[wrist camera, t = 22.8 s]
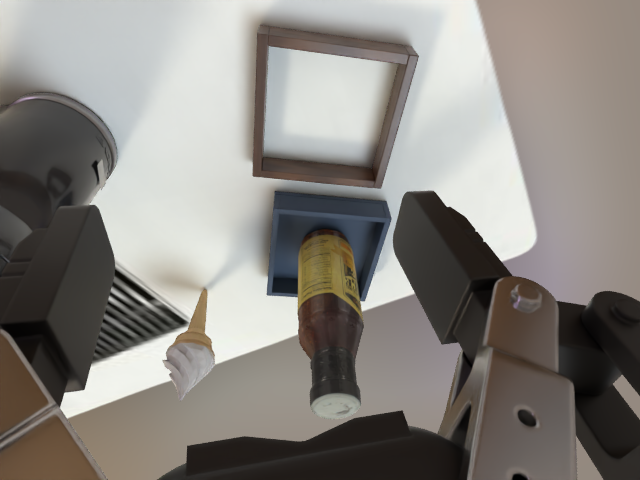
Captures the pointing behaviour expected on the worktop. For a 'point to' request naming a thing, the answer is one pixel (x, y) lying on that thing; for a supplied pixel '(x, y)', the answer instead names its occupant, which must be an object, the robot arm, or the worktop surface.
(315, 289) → the sauce bottle
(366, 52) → the walnut frame
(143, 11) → the worktop surface
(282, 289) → the slate tray
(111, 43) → the worktop surface
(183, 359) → the ice cream cone
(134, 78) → the worktop surface
